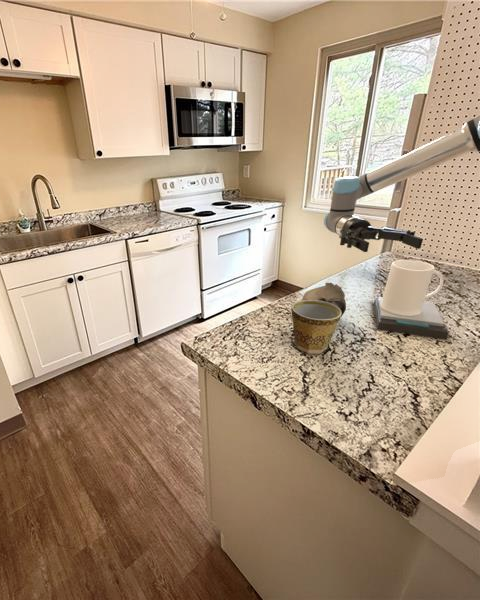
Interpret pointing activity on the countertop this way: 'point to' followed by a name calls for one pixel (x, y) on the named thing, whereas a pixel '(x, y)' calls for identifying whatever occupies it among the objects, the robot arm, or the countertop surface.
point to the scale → (412, 321)
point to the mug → (408, 287)
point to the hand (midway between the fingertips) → (393, 245)
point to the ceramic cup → (314, 324)
